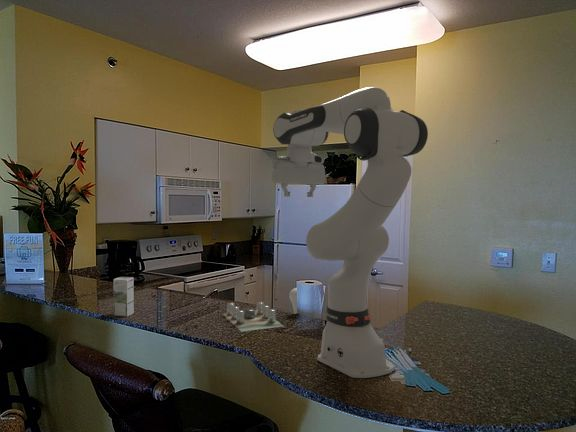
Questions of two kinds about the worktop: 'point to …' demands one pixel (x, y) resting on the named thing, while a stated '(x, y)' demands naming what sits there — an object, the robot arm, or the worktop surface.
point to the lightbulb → (294, 299)
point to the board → (254, 323)
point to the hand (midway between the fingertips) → (298, 196)
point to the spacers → (261, 310)
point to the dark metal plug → (249, 313)
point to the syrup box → (123, 296)
